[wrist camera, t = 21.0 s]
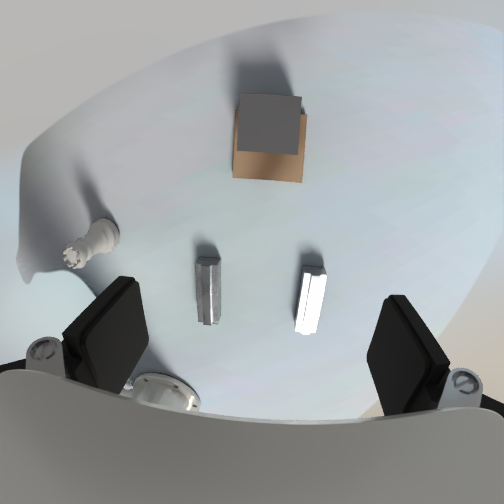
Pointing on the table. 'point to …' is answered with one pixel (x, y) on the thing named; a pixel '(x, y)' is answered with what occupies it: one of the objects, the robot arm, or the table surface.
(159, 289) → the table surface
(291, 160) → the pad
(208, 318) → the metal bars
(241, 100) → the dark gray cube
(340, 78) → the table surface
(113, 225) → the rook chess piece
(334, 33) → the table surface
